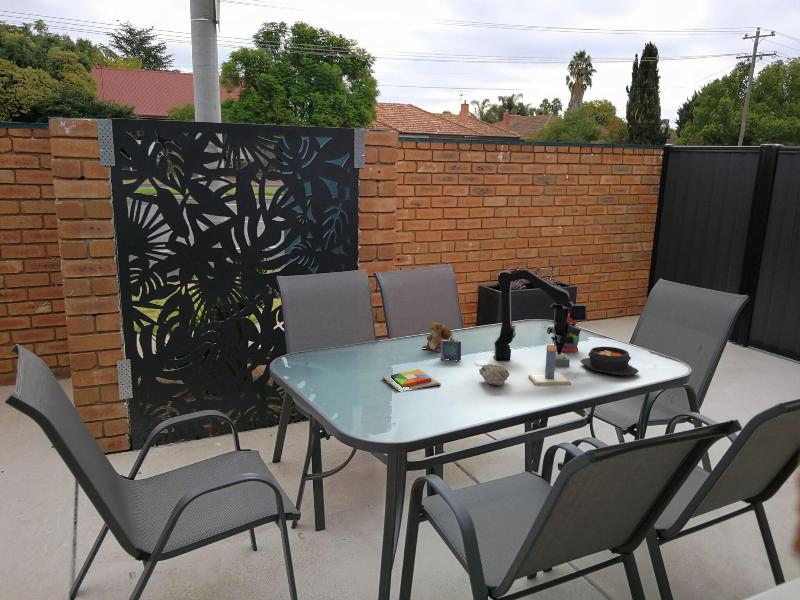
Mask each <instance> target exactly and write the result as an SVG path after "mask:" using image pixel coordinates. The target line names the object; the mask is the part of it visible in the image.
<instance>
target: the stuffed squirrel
mask: <svg viewBox="0 0 800 600" xmlns="http://www.w3.org/2000/svg"><path fill="white" fill-rule="evenodd" d="M431 323H432V324H431V328H429V329H428V330H427V331H428V333H430V334H429V335H427V336H426V341H427V343H426V345H423V346H421V347H422V348H426V349H428V350H431V349H435V350H434V351H435V352H437V351H438V352H437V353H441V352H440V351H441V340H450V338H449V337H451V336H453V331H452V330H451V328H449V327H445V324H444V323H443V324H441V323H440V322H434V321H432V322H431ZM422 348H421V349H422Z"/></svg>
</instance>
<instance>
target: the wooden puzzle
mask: <svg viewBox="0 0 800 600" xmlns="http://www.w3.org/2000/svg"><path fill="white" fill-rule="evenodd" d="M390 376H391V378H392V379H393V380H394V381H395V382H396V383H397V384H399V385H400V386H401V387H402V388H403V387H409V389H415V388H420V389H424V388H423V387H425V388H428V387H432V386H439V385H441V386H442V383H441V382H439V381H438V380H436V379H435V378H433V377H432V376H431V375H429V374H428V373H426V372H425V371H424V370H422V369H419V368H418V369H417V368H416V369H414V370H410V371H409V370H408V371H404V372H400V373H399V372H398V373H393V374H391V375H390ZM386 377H387V376H384V375H382V377H381V378H382V379H383V378H384V379H385V380H386V381H385V380H384V379H383V380H384V381H385V382H387V384H389V385H390V384H391V385H392V386H393V387H392V386H391V385H390V386H391V387H392V388H394V389H395V390H396V391H397V390H400V389H398V387H397V386H395V385H394V384H393V383H392V382H391V381H389V380H388V379H387V378H386Z"/></svg>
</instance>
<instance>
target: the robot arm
mask: <svg viewBox="0 0 800 600" xmlns="http://www.w3.org/2000/svg"><path fill="white" fill-rule="evenodd" d="M519 280H526V281H527V282H529V283H530V284H532V285H533V286H535V287H537V288H538V289H540V290H541V291H543V293H544V292H545V293H546V294H547V295H548V296H549V297H550V298H551V299H552V300H553V301H554V302H553V303H552V304H551V305H550V306H549V308H550V309H551V310H554V317H553V320H552V324H553V326H548V327H547V329H546V334H548V335H551V334H552V336H551V337H550V338H551V340H552V343H553V345H555V346H557V348H556V351H557V352H556V353H557V354H561V352H562V349H563V346H564V344H570V343H574V338H573V337H572V336H570V333H571V334H574V335H576V336H579V337H580V333H581V331H582V329H581V328H579V327H578V326H577V327H575V326H576V325H575V324H574V323H569V322H568V313H570V318H571V319H572V320H577V321H582V322H583V321H584V322H586V321H587V304H574V302H573V300H571V298H570V293H569V291H568V290H566V289H564V288H561V287H560V286H556V285H553V284H551V283H550V282H548V281H547V280H545V279H543V278H542V277H541V276H539V275H537V274H536V273H534V272H532V271H531V270H529V269H528V268H525V267H524V268H523V269H521V268H520V269H515V270H509V269H505V270H503V271H501V272H500V273H499V274H498V277H497V281H498V286H499V289H500V292H501V327H500V333H499V336H498V337H497V338H496V340H495V341H494V350H493V351H494V353H493V354H494V355H493V358H494V359H495V361H497V362H498V361H511V358H512V349H511V345H509V344H511V343H512V342H513V340H514V338H515V336H516V335H517V334H516V333H517V332H516V328H517V327H516V325H513V323H512V294H511V293H512V292H511V291H512V287H513V282H517V281H519ZM566 334H567V335H566Z"/></svg>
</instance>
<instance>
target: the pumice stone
mask: <svg viewBox="0 0 800 600" xmlns="http://www.w3.org/2000/svg"><path fill="white" fill-rule="evenodd" d="M478 371H479V374H480V376H481V377H482V378H483V380H484V381H485V382H486V383H487V384H490V385H494V386H502V385H503V384H505V383H506V380H507V379H508V378H509V377H510V372H509V370H508V368H506V367H505V365H503V364H493V363H491V364H484V365H482V366H481V368H479V370H478Z"/></svg>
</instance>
